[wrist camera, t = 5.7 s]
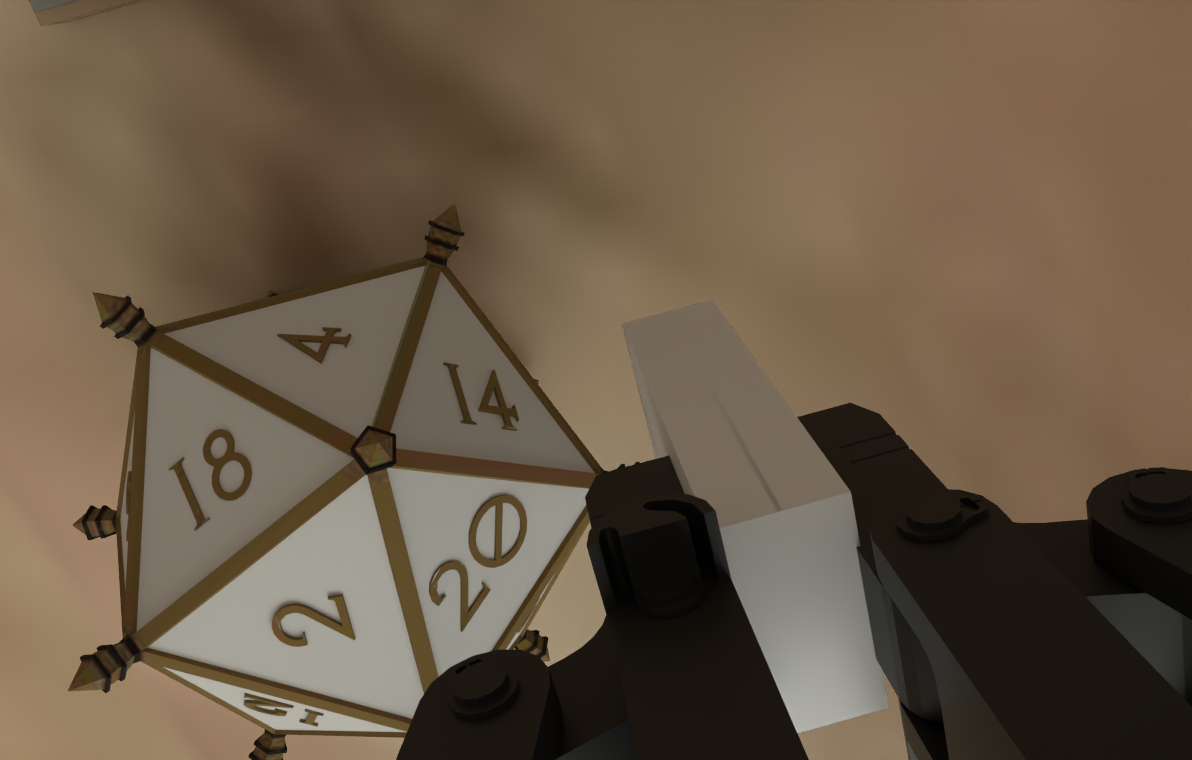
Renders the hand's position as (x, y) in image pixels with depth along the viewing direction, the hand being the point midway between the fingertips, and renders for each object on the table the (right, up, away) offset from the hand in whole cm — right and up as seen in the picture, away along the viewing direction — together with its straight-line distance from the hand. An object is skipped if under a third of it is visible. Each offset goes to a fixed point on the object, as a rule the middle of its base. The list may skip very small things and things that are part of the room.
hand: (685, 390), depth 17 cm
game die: (-6, 0, +4) cm, 7 cm away
